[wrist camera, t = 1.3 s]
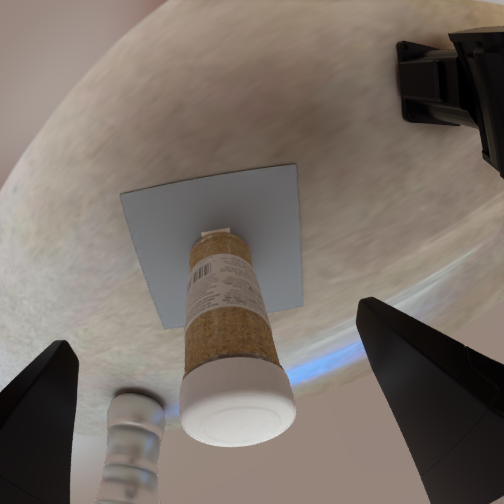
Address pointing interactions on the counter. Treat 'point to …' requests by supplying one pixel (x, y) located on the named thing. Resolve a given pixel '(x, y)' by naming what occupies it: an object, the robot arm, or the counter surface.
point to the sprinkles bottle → (230, 351)
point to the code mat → (219, 220)
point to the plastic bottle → (132, 451)
